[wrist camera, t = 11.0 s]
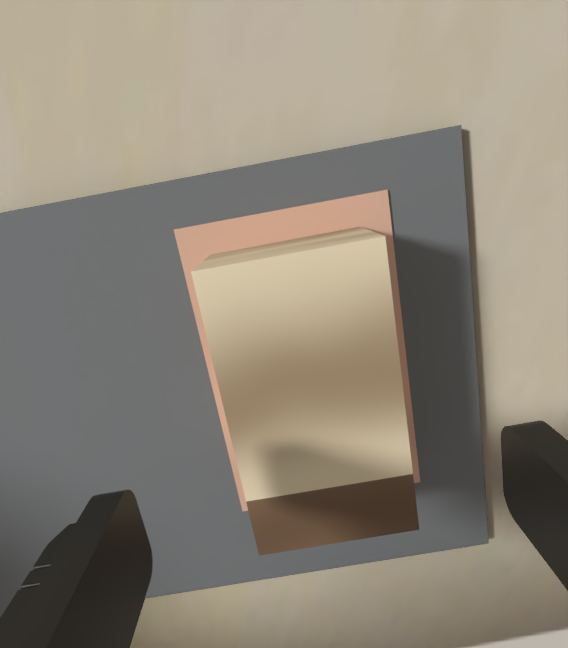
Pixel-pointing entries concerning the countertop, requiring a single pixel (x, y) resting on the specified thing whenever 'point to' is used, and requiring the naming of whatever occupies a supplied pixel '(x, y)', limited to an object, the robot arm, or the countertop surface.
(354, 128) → the countertop surface
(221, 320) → the beige rectangular block
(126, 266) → the rubber mat
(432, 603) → the countertop surface
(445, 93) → the countertop surface
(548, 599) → the countertop surface
